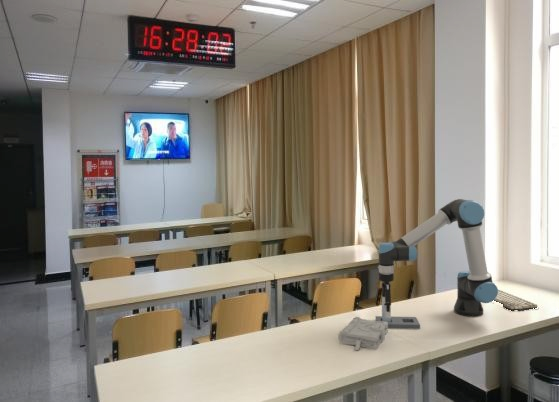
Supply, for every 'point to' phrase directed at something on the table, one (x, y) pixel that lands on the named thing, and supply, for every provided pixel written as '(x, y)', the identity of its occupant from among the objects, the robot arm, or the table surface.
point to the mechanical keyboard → (513, 302)
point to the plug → (384, 314)
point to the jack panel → (402, 322)
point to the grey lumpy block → (364, 333)
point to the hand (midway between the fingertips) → (386, 313)
